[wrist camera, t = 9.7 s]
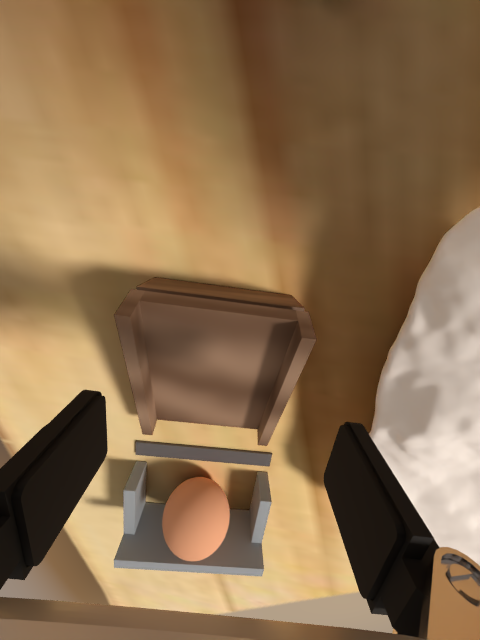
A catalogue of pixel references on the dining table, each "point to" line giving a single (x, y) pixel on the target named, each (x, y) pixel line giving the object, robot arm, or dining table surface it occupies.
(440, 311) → the white flat lumpy piece
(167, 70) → the dining table surface
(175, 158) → the dining table surface
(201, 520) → the ball
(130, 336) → the ramp
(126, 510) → the box
